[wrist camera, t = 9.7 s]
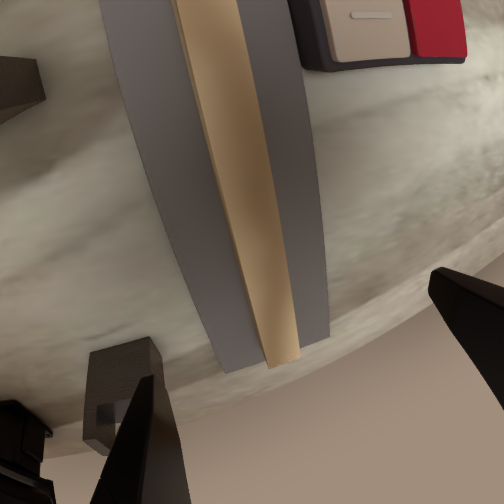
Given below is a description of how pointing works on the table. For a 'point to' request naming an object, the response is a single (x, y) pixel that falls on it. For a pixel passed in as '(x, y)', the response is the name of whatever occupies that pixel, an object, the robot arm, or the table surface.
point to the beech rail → (240, 166)
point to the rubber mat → (200, 170)
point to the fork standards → (103, 361)
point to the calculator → (377, 33)
